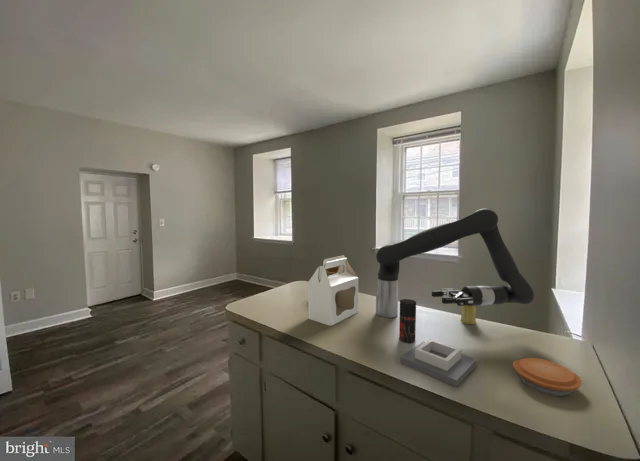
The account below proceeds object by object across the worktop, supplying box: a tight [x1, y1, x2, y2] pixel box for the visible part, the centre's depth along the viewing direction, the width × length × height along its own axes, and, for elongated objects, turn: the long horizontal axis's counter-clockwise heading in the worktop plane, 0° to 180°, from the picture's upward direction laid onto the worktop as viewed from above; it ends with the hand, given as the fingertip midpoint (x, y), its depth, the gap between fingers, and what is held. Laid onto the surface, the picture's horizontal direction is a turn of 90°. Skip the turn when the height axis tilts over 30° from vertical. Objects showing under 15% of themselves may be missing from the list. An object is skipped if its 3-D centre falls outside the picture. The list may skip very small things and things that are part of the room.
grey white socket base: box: [399, 338, 478, 388], centre depth 93 cm, size 18×16×5 cm
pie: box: [512, 357, 583, 397], centre depth 83 cm, size 15×16×5 cm
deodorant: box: [398, 298, 417, 344], centre depth 111 cm, size 6×6×15 cm
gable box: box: [307, 254, 359, 327], centre depth 136 cm, size 22×13×28 cm, turn 140°
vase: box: [460, 305, 477, 325], centre depth 128 cm, size 6×6×14 cm
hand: (437, 297), depth 111 cm, fingers open, 8 cm apart
